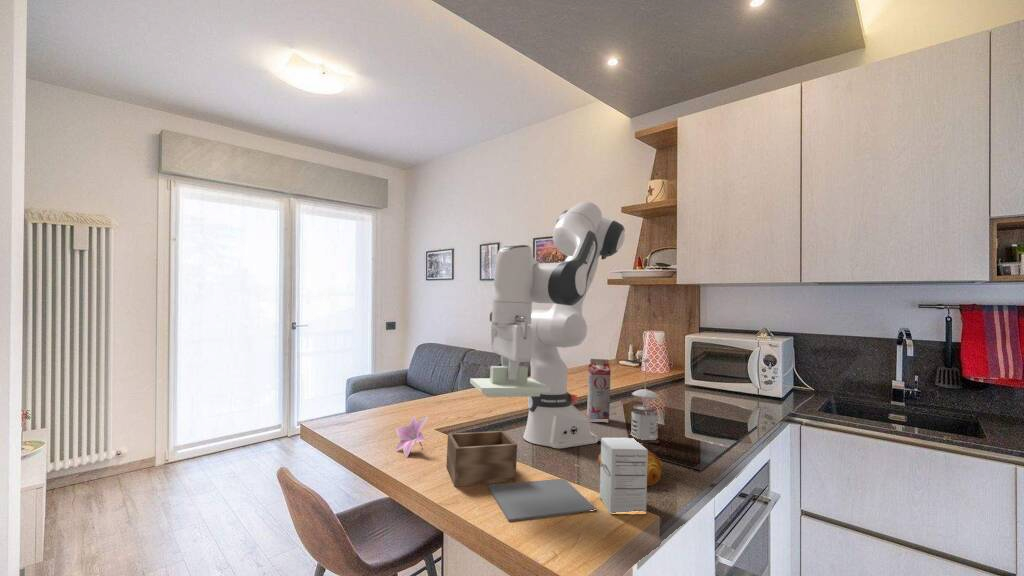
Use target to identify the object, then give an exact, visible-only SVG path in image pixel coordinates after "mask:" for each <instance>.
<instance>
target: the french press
mask: <svg viewBox="0 0 1024 576" xmlns="http://www.w3.org/2000/svg"><path fill="white" fill-rule="evenodd" d="M642 362H643V363H645V366H644V367H645V368H644V371H645V372H644V388H643V389H637V390H634V391H633V392H631V394H632V396H634V397H636V398H640V399H642V403H643V404H635V405H633V406H632V408H633V410H631V423H630V424H631V425H630V427H631V428H630V429H631V430H630V431H631V432H630V435H632V436H633V437H635V438H637V439H641V440H656V439H657V438H659V437H658V436H659V435H658V434H659V433H658V431H659V427H658V426H659V414H658V412H656V411H657V410H658V409H657V408H656V407H655V406H651V405H649V404H648V405H646V402H647V403H649V402H650V400H652V399H653V400H655V399H658V398H659V397H660V396H659V395H658V393H656V392H655V391H652V390H649V389H647V387H646V386H647V385H646V380H647V363H650V360H649V358H643V359H642ZM645 412H646V415H645Z"/></svg>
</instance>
